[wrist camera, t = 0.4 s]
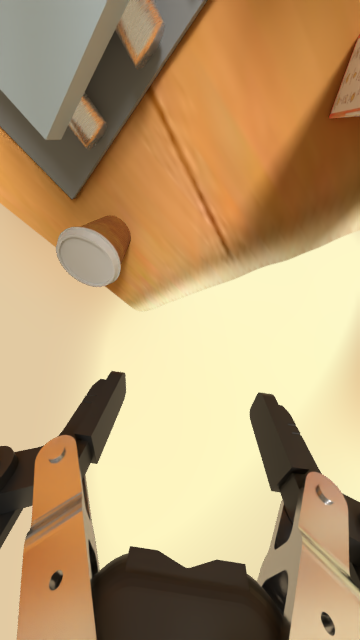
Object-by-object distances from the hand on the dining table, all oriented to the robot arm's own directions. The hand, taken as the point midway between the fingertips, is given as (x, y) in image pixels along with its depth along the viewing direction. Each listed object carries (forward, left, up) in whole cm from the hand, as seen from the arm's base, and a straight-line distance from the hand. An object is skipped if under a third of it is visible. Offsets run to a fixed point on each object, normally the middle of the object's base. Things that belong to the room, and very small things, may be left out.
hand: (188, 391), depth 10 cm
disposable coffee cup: (-8, -15, -31) cm, 35 cm away
